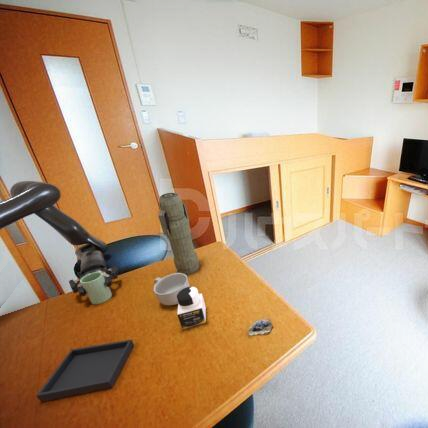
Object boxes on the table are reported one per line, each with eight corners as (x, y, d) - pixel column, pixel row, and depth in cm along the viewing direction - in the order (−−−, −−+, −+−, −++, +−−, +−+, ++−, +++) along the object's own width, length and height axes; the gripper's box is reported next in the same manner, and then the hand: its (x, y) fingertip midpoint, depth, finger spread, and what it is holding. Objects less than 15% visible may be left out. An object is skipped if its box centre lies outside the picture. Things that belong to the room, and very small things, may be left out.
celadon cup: (87, 305, 86) (75, 284, 82) (97, 293, 91) (86, 272, 87) (106, 302, 87) (95, 281, 83) (115, 291, 92) (105, 270, 88)
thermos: (170, 276, 100) (145, 200, 85) (187, 260, 111) (168, 189, 96) (189, 278, 99) (168, 201, 85) (205, 261, 110) (188, 190, 95)
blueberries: (275, 331, 77) (274, 327, 76) (250, 342, 74) (249, 338, 73) (268, 316, 83) (268, 312, 82) (245, 326, 79) (244, 321, 78)
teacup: (197, 295, 91) (193, 279, 87) (168, 315, 83) (162, 297, 79) (177, 282, 98) (173, 266, 94) (149, 298, 89) (142, 281, 86)
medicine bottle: (182, 330, 77) (172, 302, 72) (183, 313, 83) (175, 287, 78) (205, 322, 80) (198, 296, 75) (205, 307, 86) (199, 281, 81)
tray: (41, 401, 58) (35, 395, 57) (75, 355, 69) (71, 349, 68) (112, 387, 62) (108, 381, 60) (134, 345, 72) (131, 339, 71)
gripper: (64, 267, 90) (63, 290, 79) (113, 252, 99) (117, 272, 88) (73, 282, 93) (72, 307, 82) (119, 267, 102) (124, 287, 91)
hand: (96, 289), depth 85 cm, fingers closed on celadon cup, 6 cm apart
